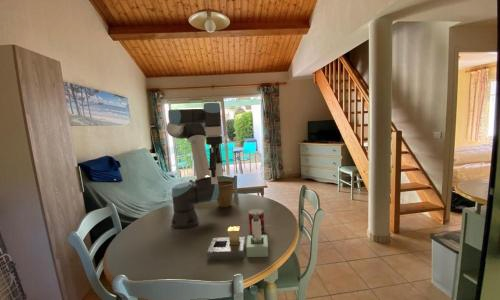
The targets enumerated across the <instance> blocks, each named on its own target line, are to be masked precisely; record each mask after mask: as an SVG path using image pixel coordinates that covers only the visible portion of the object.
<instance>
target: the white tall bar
mask: <svg viewBox="0 0 500 300" xmlns="http://www.w3.org/2000/svg"><path fill="white" fill-rule="evenodd" d="M251 221H252V233H251V236H252V238H253V244H262V236H261V235H262V234H261V220H260V219H259V215H258V213H253V219H252V220H251Z"/></svg>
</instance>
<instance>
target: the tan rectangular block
mask: <svg viewBox="0 0 500 300" xmlns="http://www.w3.org/2000/svg"><path fill="white" fill-rule="evenodd" d="M240 231H241V227H240V226H228V228H227V234H228V237H229V239H230V246H240V240H239V237H240Z"/></svg>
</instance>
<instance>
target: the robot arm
mask: <svg viewBox="0 0 500 300" xmlns="http://www.w3.org/2000/svg"><path fill="white" fill-rule="evenodd" d="M167 112H168V114H167V115H168V123H167V125H166V131H167V134H168V135H169V136H171V137H173V138H176V139H179V140H180V139H181V140H183V139H184V140H186V139H187V142H188V143H189V144H190V147H191V153H192V159H193V164H194V170H195V176H196V179H195V180H194V183H193V182H191V181H186V182H182V183H177V184H176V185H175V186H173V187H172V188H171V197H172V207H173V215H172V219H171V227H172V228H173V229H175V230H186V229H190V228H192V227H195V226H196V225H197V224H199V221H200V220H199V216H198V214H197V211H196V209H195V205H199V204H204V203H209V202H210V203H211V202H214V201H217V198H218V194H219V186H218V177H222V176H223V175H222V163H223V160H222V157H221V151H220V145H221V144H223V136H222V135H223V129H222V117H221V115H222V114H221V103H220V102H218V101H212V102H211V101H209V102H207V101H206V102H203V107H190V108H189V107H187V108H180V107H179V108H177V107H176V108H175V107H174V108H169V110H168V111H167ZM205 143H206V145H208V146H210V147H209V159H208V155H207V149H206V146H205Z"/></svg>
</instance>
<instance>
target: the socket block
mask: <svg viewBox="0 0 500 300" xmlns="http://www.w3.org/2000/svg"><path fill="white" fill-rule="evenodd" d="M239 240H240V246H230V239H229V236H228V237H212V239H211V242H210V245H209V247H208V248H207V249H208V250H207V251H206V253H207V254H206V255H207V260H210V261H211V260H214V261H215V260H241V259H244V257H245V256H244V255H245V249H246V237H245V236H239Z"/></svg>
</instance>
